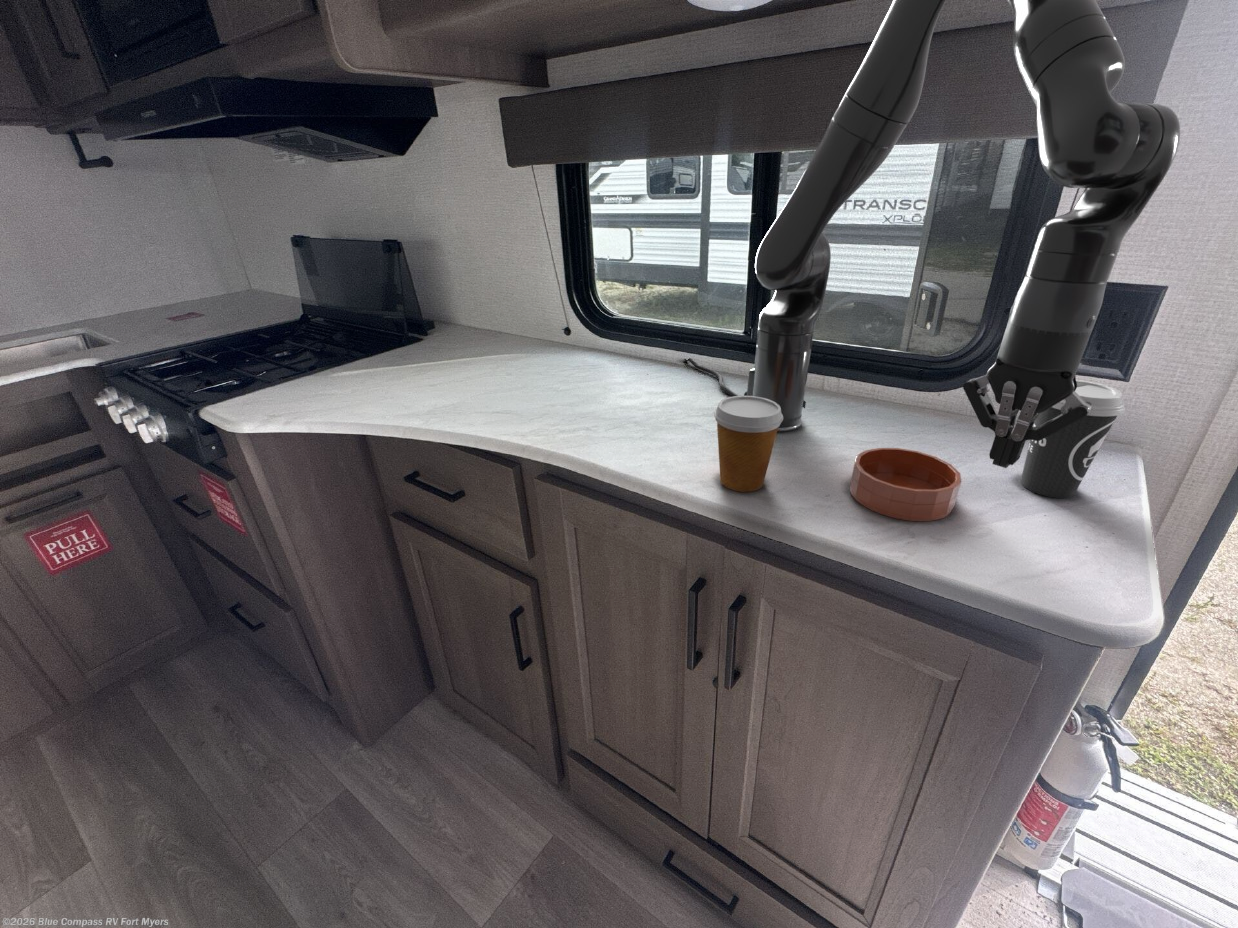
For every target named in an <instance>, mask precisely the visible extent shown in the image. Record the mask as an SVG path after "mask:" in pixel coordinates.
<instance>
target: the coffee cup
mask: <svg viewBox="0 0 1238 928" xmlns="http://www.w3.org/2000/svg"><path fill="white" fill-rule="evenodd" d="M1076 382H1077V388H1076V390H1075V392H1076V393H1077V394H1078V395H1079V396H1080V397H1081V398H1082V399H1083V401H1084V402H1090V403H1092V405H1093V409H1092V410H1091V411H1090V412H1089V413H1088V414H1087V415H1086V416H1085V417H1083V418H1081V419H1079V420H1077V421H1076V422H1074V423H1072V424H1070V425H1068V426H1066V427H1064V428H1062V429H1061V430H1059V431H1057V432H1055V433H1053V434H1051V435H1049V436H1048V437H1046V438H1044V439H1042V440H1040V441H1035V440H1029V443H1028V448H1027V452H1026V456H1025V460H1024V464H1023V470H1022V473H1021V478H1020V484H1021V485H1022V486H1023V487H1024V488H1025V489H1027V490H1028V491H1031V492H1032V493H1035V494H1038V495H1041V496H1045V497H1049V498H1055V499H1068V498H1072V497H1074V496H1075V494H1076V493H1077V490H1078V489H1079V487H1080V485H1081V483H1082V482H1083V479H1084V477H1085V476H1086V474H1087V472H1088V470H1089V468H1090V467H1091V465H1092V463H1093V461H1094V459H1095V458H1096V455H1097V454H1098V452H1099V450H1100V448H1101V446H1102V445H1103V443H1104V440H1105V439H1106V437H1107V435H1108V433H1109V432H1110V430H1111V429H1112V427H1113V425H1114V423H1115V421H1116V420H1117V417H1118V416H1121V415H1123V414H1124V413H1125V408H1126V406H1125V402H1124V400H1123V393H1122V392H1121V391H1120V390H1119V389H1117V388H1115V387H1112V386H1110V385H1106V384H1102V383H1098V382H1094V381H1089V380H1082V379H1076ZM1065 403H1066V400H1065V399H1064V400H1062V401H1060V402H1059V403H1057V404H1056V405H1054V406H1052V407H1051V408H1049V409H1047V410H1046V411H1044V412H1042V413H1039V415H1038V417H1037V419H1036V420H1035V422H1034V424H1033V426H1032V427H1037V426H1041V425H1043V424H1044V423H1046V422H1048V421H1050V420H1052V419H1053V418H1055V417H1057V416H1059V415H1061V414H1062V413H1061V407H1062V406H1063V405H1065Z"/></svg>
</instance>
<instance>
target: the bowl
mask: <svg viewBox="0 0 1238 928" xmlns="http://www.w3.org/2000/svg"><path fill="white" fill-rule="evenodd" d="M961 476H962V475H961V472H959V470H958V469H956V468H955V467H954V465H952V464H951V463H949V462H947V461H945V460H943V459H941V458H939V457H937V456H935V455H931V454H928V453H925V452H922V451H917V450H912V449H906V448H900V447H876V448H871V449H865V450H863V451H862V452H860V453H859V454H857V455H856V456H855V460H854V463H853V470H852V474H851V479H850V484H849V491H850V494H851V495H852V497H853V499H854V500H855V501H857V502H858V503H859V504H860V505H861V506H863V507H865V508H866V509H868V510H871V511H872V512H875V513H877V514H880V515H882V516H885V517H889V518H893V519H896V520H897V519H898V520H903V521H909V522H910V521H911V522H931V521H937V520H941V519H943V518H946V517H947V516H949V515H950V514H951V512H952V511H953V508H955V504H956V501H957V498H958V494H959V491H960V487H961V484H962V477H961Z"/></svg>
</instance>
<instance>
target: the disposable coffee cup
mask: <svg viewBox="0 0 1238 928" xmlns="http://www.w3.org/2000/svg"><path fill="white" fill-rule="evenodd" d="M713 415H714V418H715V421H716V427H717V428H716V430H717V446H718V462H719V463H718V464H719V482H720V484H721V485H722V486H724V487H725V488H727V489H729V490H732V491H735V492H743V493H744V492H748V493H749V492H755V491H757V490H759V489H761V488H762V487H763V486H764V483H765V479H766V475H767V472H768V468H769V464H770V460H771V457H772V453H773V449H774V445H775V442H776V438H777V434H778V432H779V431H778V427H779V426H780V424H781V422H782V421H783V415H782V413H781V407H780V406H779V405H778V404H777V403H776V402H774V401H772V400H769V399H766V398H762V397H755V396H744V395H738V396H733V397H731V396H729V397H725V398H723V399H721V400H719V402H718V404H717V407H716V408H715V409H714V411H713Z"/></svg>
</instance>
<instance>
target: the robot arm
mask: <svg viewBox="0 0 1238 928" xmlns="http://www.w3.org/2000/svg"><path fill="white" fill-rule="evenodd" d="M947 1H948V0H892V2H891V5H890V7H889V9H888V11H887V13H886V15H885V17H884V19H883V21H882V23H881V24H880V27H879V28H878V31H877V33H876V35H875V36H874V39H873V41H872V43H871V45H870V46H869V49H868V51H867V52H866V55H865V57H864V58H863V60H862V63H861V64H860V66H859V68H858V69H857V72H856V73H855V75H854V77H853V79H852V81H851V82H850V83H849V85H848V88H847V90H846V92H845V93H844V95H843V97H842V99H841V100H840V103H839V105H838V106H837V108H836V110H835V112H834V114H833V116H832V118H831V120H830V122H829V124H828V125H827V129H826V131H824V132H825V133H824V135H823V136H822V139H820V140H821V141H820V143H818V146H817V148H816V150H815V151H814V153H813V155H812V157H811V158H810V160H809V163H808V164H807V166H806V168H805V170H804V172H803V174H802V175H801V177H800V180H799V181H798V183H797V185H796V188H795V189H794V191H793V192H792V193H791V195H790V197H789V199H788V200H787V202H786V204H785V205H784V207H783V208H782V210H781V211H780V213H779V214H778V216H777V217H776V219H775V220H774V222H773V223H772V225H771V226H770V228H769V230H768V231H767V232H766V234H765V236H764V238H763V239H762V241H761V243H760V245H759V247H758V249H757V252H756V256H755V263H754V268H755V274H756V278H757V280H758V282H759V284H760V285H761V286H762V287H763V288H765V289H767V290H769V291H775V292H774V294H773V296H772V299H771V300H770V302H769V303H768V304H767V305H766V307H764V308H763V309H762V311H761V312H760V314H759V317H758V324H757V325H758V326H757V327H758V328H757V336H756V347H755V358H754V367H753V368H752V369H750V370H749V371H748V377H747V378H748V379H747V388H746V389H747V390H746V391H745V392H744V393H743V396H755V397H762V398H766V399H769V400H772V401H774V402H776V403H777V404H778V405H779V406H780V407H781V413H782V415H783V421H782V422H781V424H780V426H779V427H778V431H777V432H790V431H794V430H797V429H798V428H800V427H801V425H802V417H803V409H806V405H807V401H805V394H806V388H807V381H808V374H809V367H810V360H811V353H812V346H813V339H814V333H815V326H816V322H817V320H818V318H819V316H820V314H821V313H822V309H823V306H824V301H825V295H826V290H827V286H828V285H827V284H828V280H829V276H830V269H831V259H832V258H831V257H832V256H831V254H832V253H831V251H832V250H831V245H830V242H829V240H828V238H827V237H826V235H825V234H824V233H823V232H824V230H825V229H826V227H827V226H828V224H829V222H830V221H831V219H832V218H833V216H834V215H835V214H836V213H837V211H838V210H839V209H840V208H841V207H842V206H843V205H844V204H845V203H846V202H847V201H848V200H849V198H850V197H852V196H853V195H854V193H856V191H858V190H859V189H860V188H861V187H862V185H864V184H865V183H866V181H867V180H868V179H870V177H871V176H872V175H874V173H875V172H876V171H877V170H878V169H879V168H880V166H881V165H882V164H883V163H884V162H885V160H886V159H887V158H888V156H889V155H890V153H891V152H892V150H893V149H894V147H895V146H896V144H897V142H898V141H899V140H900V138H901V136H902V134H903V132H904V131H905V130H906V128H907V126H908V124H909V123H910V122H911V120H912V118H913V116H914V114H915V113H916V110H917V109H918V106H919V103H920V100H921V96H922V93H923V90H924V84H925V79H926V73H927V66H928V61H929V55H930V48H931V44H932V38H933V34H934V31H935V27H936V25H937V23H938V20H939V17H940V15H941V13H942V11H943V8H944V7H945V5H946V3H947ZM1006 1H1007V3H1008V4H1009V7H1010V10H1011V13H1012V18H1013V29H1012V46H1013V47H1012V48H1013V54H1014V58H1015V59H1014V60H1015V63H1016V65H1017V68H1018V70H1019V72H1020V74H1021V77H1022V79H1023V83H1024V84H1025V86H1026V88H1027V91H1028V93H1029V96H1030V97H1031V98H1032V102H1033V103H1034V105H1035V107H1036V131H1037V132H1036V133H1037V143H1038V144H1037V145H1038V154H1039V155H1038V156H1039V160H1040V163H1041V165H1042V168H1043V170H1044V172H1045V173H1046V174H1047V175H1048V177H1049V178H1050V179H1051V180H1052V181H1053V182H1055V183H1056V184H1058V185H1059V186H1061V187H1064V188H1068V189H1084V190H1083V191H1082V193H1081V195H1080V197H1079V199H1078V200H1077V202H1076V203H1075V205H1074V206H1073V208H1071V210H1069V211H1068V212H1066V213H1064V214H1061V215H1058V216H1055V217H1053V218H1051V219H1048V220H1047V221H1046V222H1045V223H1043V225H1042V226H1041V228H1040V230H1039V232H1038V234H1037V237H1036V240H1035V243H1034V246H1033V250H1032V253H1031V256H1030V259H1029V262H1028V265H1027V268H1026V271H1025V275H1024V278H1023V280H1022V283H1021V285H1020V287H1019V289H1018V291H1017V293H1016V295H1015V297H1014V302H1013V304H1012V306H1011V308H1010V311H1009V314H1008V321H1007V324H1006V328H1005V330H1004V332H1003V337H1002V340H1001V343H1000V346H999V349H998V352H997V355H996V359H995V362H994V364H992V365H991V366H990V367H989V368H988V370H987V372H986V374H984V375H982V376H979V377H973V378H970V379H969V380H967V381H966V382H964V383H963V385H962V388H963V391H964V393H965V395H966V397H967V400H968V401H969V403H970V405H971V407H972V410H973V411H974V413H975V416H976V418H977V419H978V421H979V423H980V426H982V427H983V428H985V429H986V428H988V429H990V430H991V431H993V432H994V438H993V442H992V445H991V448H990V451H989V453H988V454H989V459H990V460H992V465H995V466H997V467H1001V468H1003V469H1007V468H1008V467H1009V466H1013V465H1015V463H1017V462H1018V461H1019V460H1020V458H1021V455H1022V453H1023V450H1024V447H1025V445H1026V441H1030V440H1035V441H1040V440H1042V439H1044V438H1046V437H1048V436H1049V435H1051V434H1053V433H1055V432H1057V431H1059V430H1061V429H1062V428H1064V427H1066V426H1068V425H1070V424H1072V423H1074V422H1076V421H1077V420H1079V419H1081V418H1083V417H1085V416H1086V415H1087V414H1088V413H1089V412H1090V411H1091V410H1092V409H1093V405H1092V403H1090V402H1084V401H1083V399H1082V398H1081V397H1080V396H1079V395H1078V394H1077V393H1076V392H1075V390H1076V388H1077V382H1076V380H1077V379H1076V377H1077V376H1076V375H1077V372H1078V369H1079V367H1080V363H1081V361H1082V358H1083V356H1084V353H1085V350H1086V348H1087V345H1088V342H1089V340H1090V337H1091V335H1092V332H1093V330H1094V327H1095V325H1096V321H1097V319H1098V316H1099V314H1100V311H1101V308H1102V305H1103V301H1104V296H1105V291H1106V287H1107V284H1108V281H1109V279H1110V276H1111V273H1112V271H1113V268H1114V265H1115V262H1116V260H1117V258H1118V254H1119V252H1120V249H1121V246H1122V242H1123V240H1124V238H1125V237H1126V235H1127V233H1128V232H1129V231H1130V229H1131V228H1132V226H1133V225H1134V224H1135V222H1136V221H1137V220H1138V218H1139V217H1140V216H1141V214H1142V212H1143V211H1144V209H1145V208H1146V207H1147V205H1148V203H1149V202H1150V200H1151V199H1152V198H1153V195H1155V193H1156V191H1157V189H1158V188H1159V186H1160V185H1161V184H1162V182H1163V181H1164V179H1165V177H1166V175H1167V174H1168V173H1169V170H1170V168H1171V166H1172V165H1173V162H1174V160H1175V157H1176V154H1177V152H1178V149H1179V145H1180V141H1181V140H1180V139H1181V124H1180V120H1179V117H1178V115H1177V114H1176V113H1175V111H1174V110H1172V108H1170V107H1169V106H1166V105H1164V104H1160V103H1147V102H1145V103H1143V102H1141V103H1140V102H1139V103H1138V102H1137V103H1136V102H1119V101H1117V100H1116V99H1115V98H1114V97H1113V96H1112V91H1114V89H1115V88H1116V87H1117V85H1118V84H1119V83H1120V82H1121V79H1122V78H1123V75H1124V72H1125V67H1126V61H1125V56H1124V53H1123V51H1122V50H1123V49H1122V47H1121V45H1120V44H1119V41H1118V40H1117V38H1116V36H1115V34H1114V32H1113V30H1112V28H1111V27H1110V24H1109V22H1108V21H1107V19H1106V17H1105V14H1104V13H1103V11H1102V10H1101V7H1100V5H1099V4H1098V2H1097V0H1006ZM687 362H689V363H690V364H691V365H692V366H694V367H695V368H696V369H698V370H700V371H703V372H705V373H708V374H711V375H712V376H714V377H716V378H717V379H718V384H719V387H720V389H721V390H722V391H724V393H726V394H727V395H729V397H733V396H739V395H738V394H737V393H735V392H733V391H732V390H731V389H730V388H729V387H727V386H726V385H725V384H724V377H723V376H722V375H721V373H719V372H717V371H716V370H714V369H711V368H708V367H706V366H703V365H701V364H699V363H697V362H696V361H695V360H694V359H693V358H691V357H690V358H689V359H688V360H686V359H685V358H684V359H683V360H682V363H687ZM990 389H991V390H992V392H993V394H994V397H995V399H996V401H997V403H998V404H999V407H998V412H997V409H996V408H995V406H994V404H993V402H992V400H991V397H990V396H989V391H990ZM1064 399H1065V400H1066V403H1065V405H1063V406H1062V407H1061V413H1062V414H1061V415H1059V416H1057V417H1055V418H1053V419H1052V420H1050V421H1048V422H1046V423H1044V424H1043V425H1041V426H1037V427H1033V426H1034V422H1035V420H1036V419H1037V417H1038V415H1039V413H1042V412H1044V411H1046V410H1047V409H1049V408H1051V407H1052V406H1054V405H1056V404H1057V403H1059V402H1060V401H1062V400H1064ZM1019 411H1020V412H1019ZM1018 413H1019V415H1018ZM1017 416H1018V417H1017Z"/></svg>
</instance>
